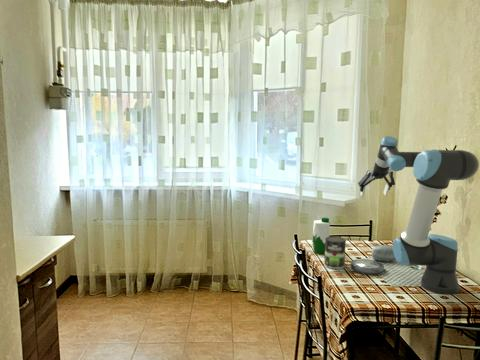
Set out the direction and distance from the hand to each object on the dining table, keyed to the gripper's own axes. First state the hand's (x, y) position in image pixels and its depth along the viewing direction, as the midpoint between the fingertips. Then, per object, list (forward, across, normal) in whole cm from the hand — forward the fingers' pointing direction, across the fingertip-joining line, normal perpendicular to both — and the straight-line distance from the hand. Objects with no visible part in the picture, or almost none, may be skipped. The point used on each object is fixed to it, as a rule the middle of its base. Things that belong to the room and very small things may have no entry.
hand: (373, 194), depth 211 cm
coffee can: (+20, +28, +32) cm, 47 cm away
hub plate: (+17, +14, +38) cm, 43 cm away
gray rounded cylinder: (+24, -2, +27) cm, 36 cm away
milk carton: (+32, +29, +12) cm, 44 cm away
